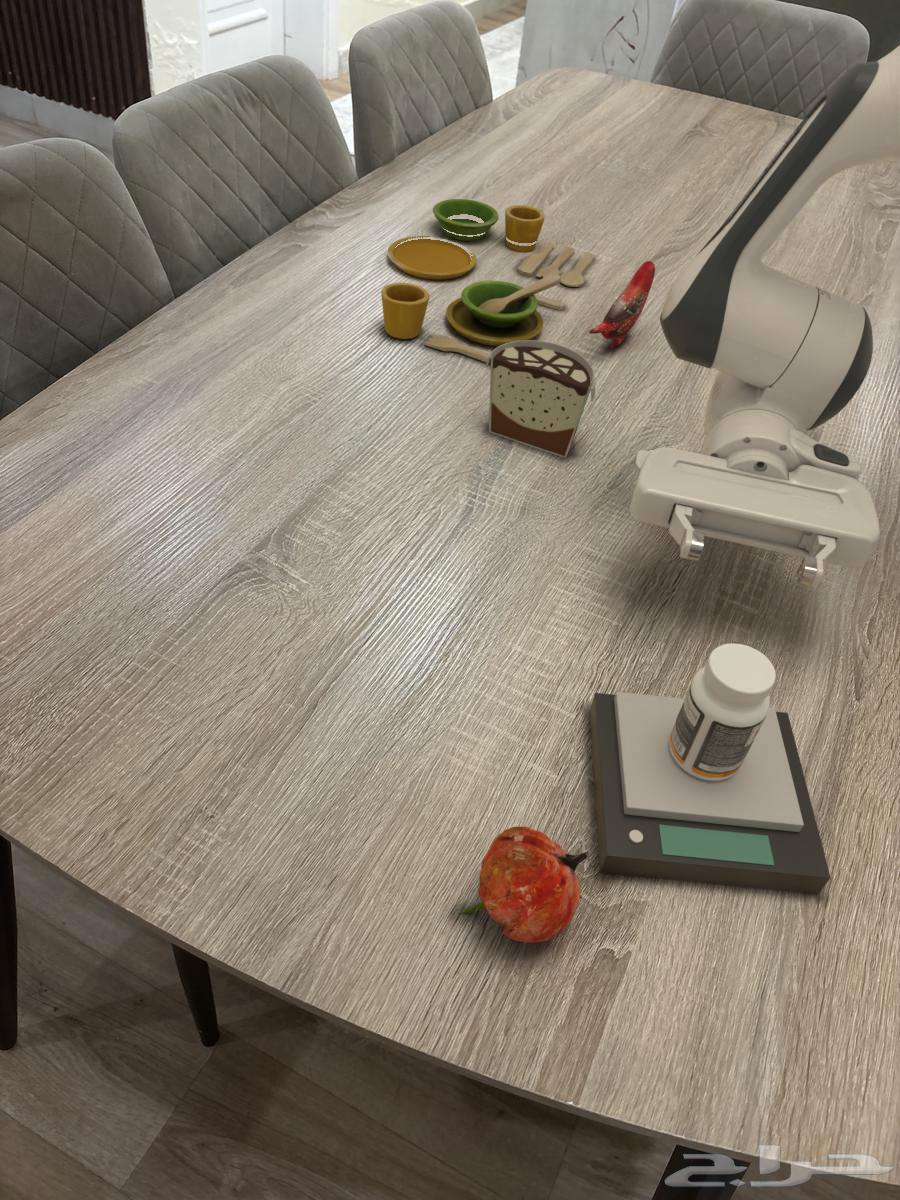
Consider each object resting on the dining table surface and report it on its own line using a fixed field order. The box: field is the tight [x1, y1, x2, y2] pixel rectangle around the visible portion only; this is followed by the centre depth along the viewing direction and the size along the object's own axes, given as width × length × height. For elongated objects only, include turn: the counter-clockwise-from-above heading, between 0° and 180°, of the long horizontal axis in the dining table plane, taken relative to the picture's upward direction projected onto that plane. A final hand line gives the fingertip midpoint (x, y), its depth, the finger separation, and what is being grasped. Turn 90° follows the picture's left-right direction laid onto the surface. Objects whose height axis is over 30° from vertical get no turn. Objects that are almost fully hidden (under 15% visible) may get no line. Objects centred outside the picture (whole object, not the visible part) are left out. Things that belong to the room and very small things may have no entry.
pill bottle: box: [669, 643, 777, 781], centre depth 68 cm, size 6×6×10 cm
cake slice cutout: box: [484, 339, 596, 459], centre depth 104 cm, size 12×6×10 cm, turn 65°
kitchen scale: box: [588, 691, 831, 895], centre depth 72 cm, size 16×15×4 cm
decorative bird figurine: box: [588, 260, 656, 351], centre depth 119 cm, size 3×18×10 cm, turn 147°
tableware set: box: [380, 198, 595, 363], centre depth 130 cm, size 41×28×6 cm
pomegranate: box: [459, 826, 591, 944], centre depth 63 cm, size 7×7×10 cm
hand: (750, 566), depth 75 cm, fingers open, 8 cm apart
